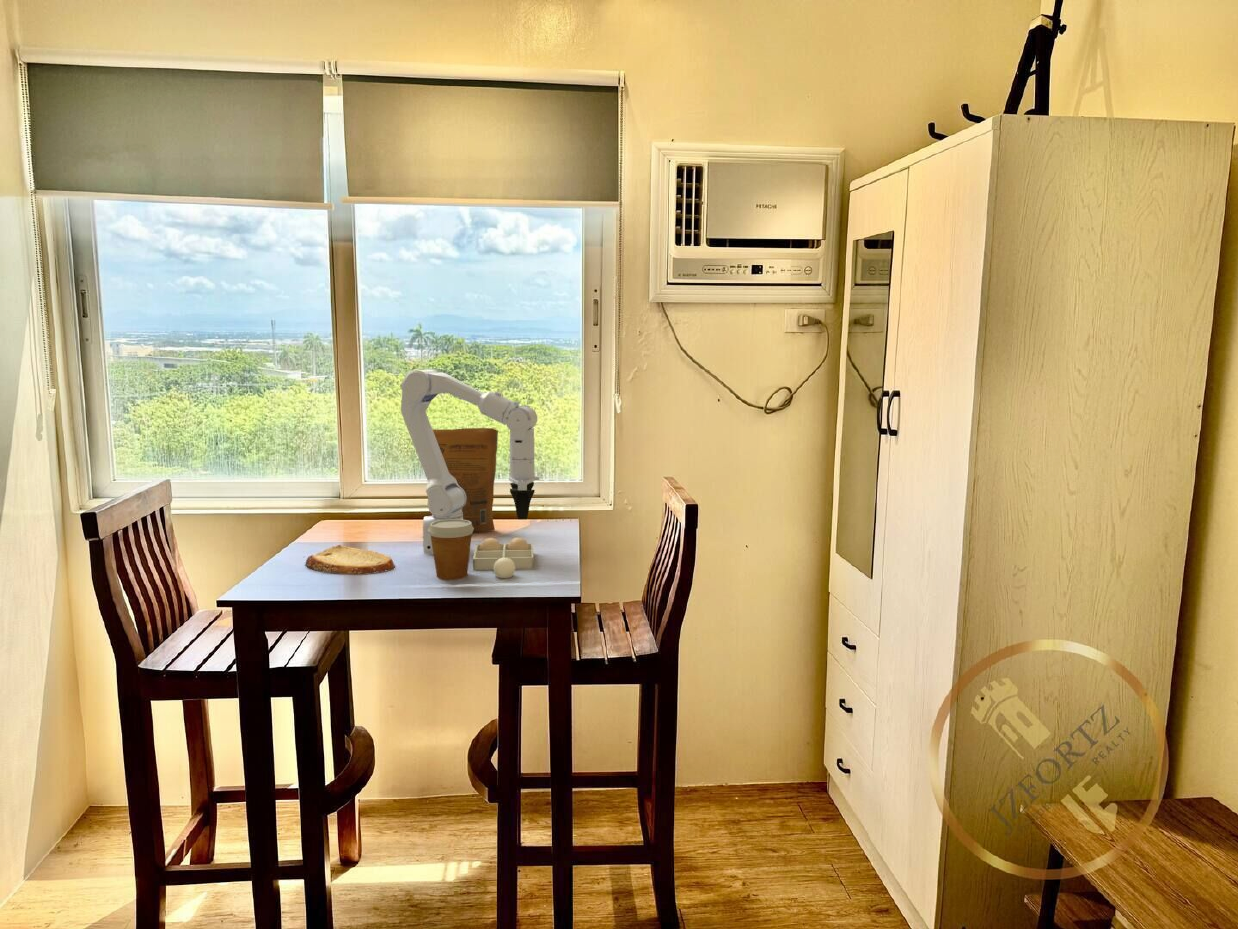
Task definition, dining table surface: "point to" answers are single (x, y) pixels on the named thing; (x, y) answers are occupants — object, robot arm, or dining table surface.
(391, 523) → the dining table surface
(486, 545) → the brown egg left
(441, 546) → the disposable coffee cup
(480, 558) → the egg carton
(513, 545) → the brown egg right
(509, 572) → the white egg
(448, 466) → the pancake mix bag
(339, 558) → the slice of bread
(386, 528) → the dining table surface
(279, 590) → the dining table surface
